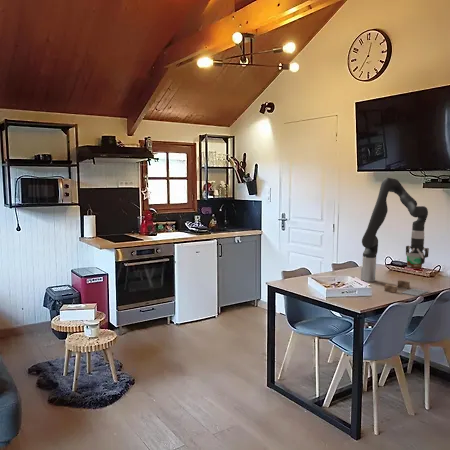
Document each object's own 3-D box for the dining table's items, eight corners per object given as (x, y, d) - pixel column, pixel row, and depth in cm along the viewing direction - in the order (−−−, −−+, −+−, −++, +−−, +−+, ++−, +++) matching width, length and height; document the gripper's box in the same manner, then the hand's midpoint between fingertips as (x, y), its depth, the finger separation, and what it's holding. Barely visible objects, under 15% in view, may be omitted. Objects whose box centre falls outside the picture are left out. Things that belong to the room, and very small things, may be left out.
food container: (411, 269, 288) (412, 253, 287) (405, 267, 293) (405, 252, 292) (428, 268, 291) (428, 253, 290) (421, 266, 297) (422, 251, 296)
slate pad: (401, 293, 292) (401, 292, 292) (412, 289, 303) (412, 288, 303) (417, 296, 285) (417, 295, 285) (428, 292, 296) (428, 291, 296)
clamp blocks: (384, 290, 298) (384, 284, 298) (399, 285, 313) (399, 280, 312) (394, 293, 293) (394, 286, 293) (409, 287, 308) (409, 281, 307)
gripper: (404, 236, 293) (402, 262, 295) (426, 239, 283) (425, 265, 284) (409, 235, 298) (408, 260, 300) (431, 238, 288) (430, 263, 290)
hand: (416, 262), depth 292 cm, fingers closed on food container, 7 cm apart
